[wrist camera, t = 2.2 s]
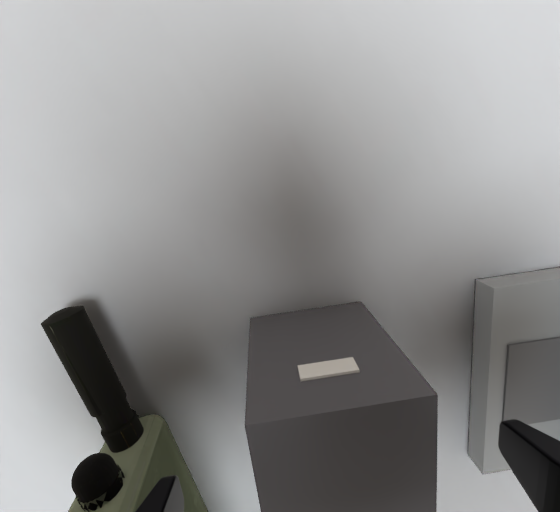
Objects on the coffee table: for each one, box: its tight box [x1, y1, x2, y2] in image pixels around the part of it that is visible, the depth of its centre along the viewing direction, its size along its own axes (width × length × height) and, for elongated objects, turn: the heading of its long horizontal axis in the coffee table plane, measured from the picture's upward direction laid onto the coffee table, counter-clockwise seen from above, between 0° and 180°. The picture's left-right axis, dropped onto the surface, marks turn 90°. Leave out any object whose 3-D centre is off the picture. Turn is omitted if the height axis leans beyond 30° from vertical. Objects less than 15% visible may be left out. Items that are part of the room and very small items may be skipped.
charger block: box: [245, 302, 438, 512], centre depth 10 cm, size 5×4×6 cm
